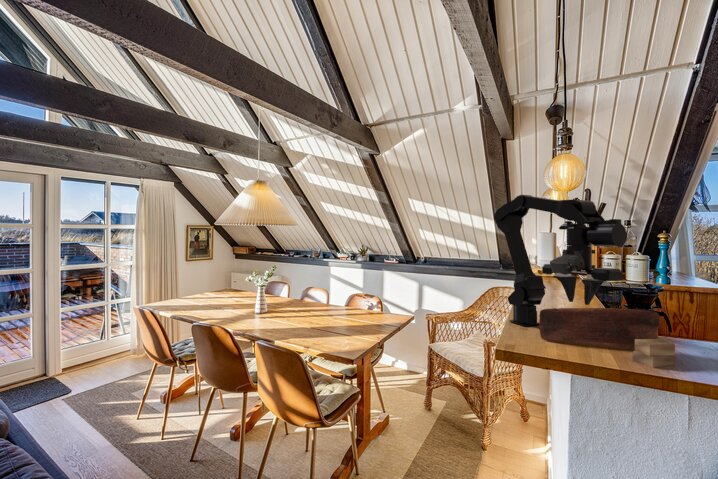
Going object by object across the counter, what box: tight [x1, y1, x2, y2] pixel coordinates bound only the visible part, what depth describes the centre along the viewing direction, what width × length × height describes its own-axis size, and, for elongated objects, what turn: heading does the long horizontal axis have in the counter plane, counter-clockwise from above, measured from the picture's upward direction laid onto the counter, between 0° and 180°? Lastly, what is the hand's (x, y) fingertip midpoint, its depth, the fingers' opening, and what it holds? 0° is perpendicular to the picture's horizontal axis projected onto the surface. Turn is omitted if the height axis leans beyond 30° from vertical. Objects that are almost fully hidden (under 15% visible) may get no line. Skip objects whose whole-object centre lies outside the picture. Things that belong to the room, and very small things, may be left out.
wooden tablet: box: [538, 307, 661, 351], centre depth 85 cm, size 26×2×10 cm, turn 72°
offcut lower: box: [632, 350, 676, 369], centre depth 73 cm, size 4×7×2 cm, turn 107°
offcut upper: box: [634, 338, 676, 356], centre depth 73 cm, size 4×6×2 cm, turn 95°
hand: (578, 303), depth 89 cm, fingers open, 4 cm apart
